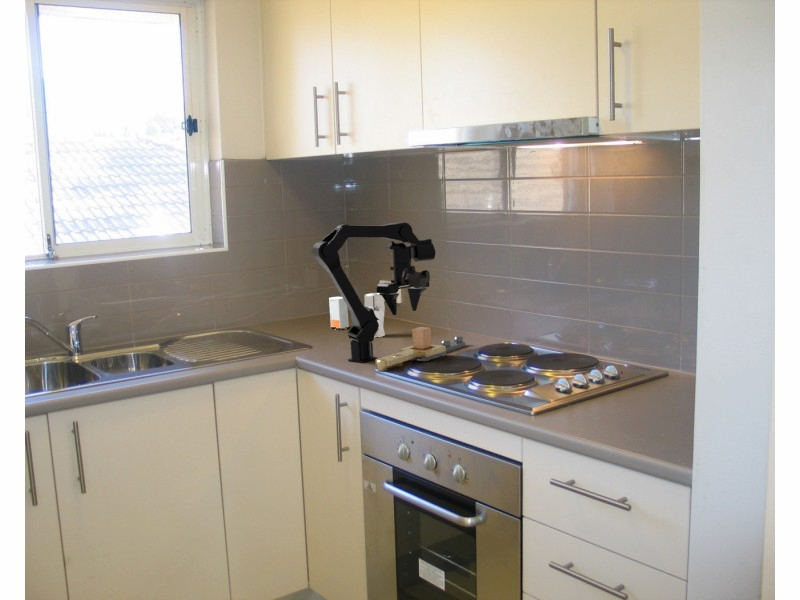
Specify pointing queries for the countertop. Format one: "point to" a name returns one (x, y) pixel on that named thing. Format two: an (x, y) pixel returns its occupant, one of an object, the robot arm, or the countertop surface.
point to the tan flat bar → (419, 353)
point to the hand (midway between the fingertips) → (404, 312)
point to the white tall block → (376, 310)
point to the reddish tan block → (421, 338)
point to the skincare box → (338, 312)
